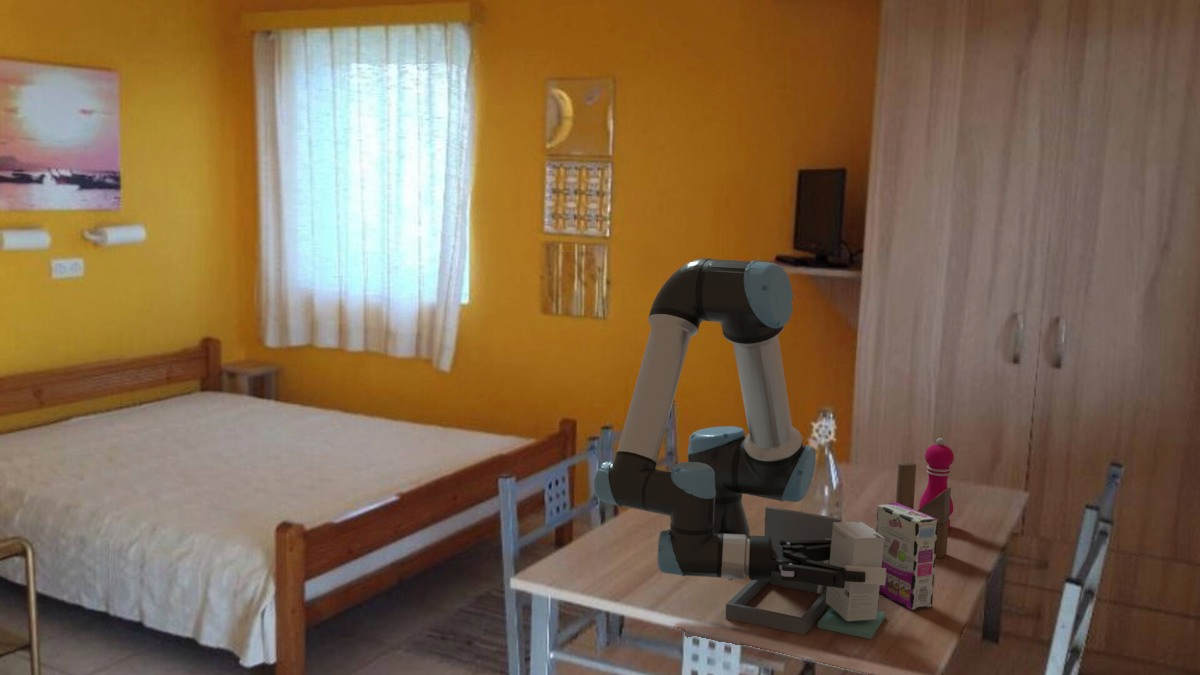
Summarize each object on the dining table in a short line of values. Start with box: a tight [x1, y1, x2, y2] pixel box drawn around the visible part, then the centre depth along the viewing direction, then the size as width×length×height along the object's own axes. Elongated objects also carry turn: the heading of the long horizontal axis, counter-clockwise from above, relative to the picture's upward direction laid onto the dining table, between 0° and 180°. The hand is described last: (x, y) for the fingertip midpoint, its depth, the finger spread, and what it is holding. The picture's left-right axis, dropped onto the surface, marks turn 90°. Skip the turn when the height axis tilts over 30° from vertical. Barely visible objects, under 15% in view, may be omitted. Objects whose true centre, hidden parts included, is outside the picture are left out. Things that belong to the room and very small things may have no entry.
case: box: [725, 506, 842, 636], centre depth 186 cm, size 14×20×14 cm
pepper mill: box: [918, 437, 955, 530], centre depth 231 cm, size 7×7×20 cm
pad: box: [817, 606, 886, 640], centre depth 180 cm, size 9×10×1 cm
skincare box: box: [826, 521, 884, 621], centre depth 179 cm, size 8×6×15 cm
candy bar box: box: [875, 502, 938, 611], centre depth 190 cm, size 11×5×16 cm, turn 24°
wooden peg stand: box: [895, 460, 952, 559], centre depth 216 cm, size 4×11×18 cm, turn 53°
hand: (881, 565), depth 178 cm, fingers closed on skincare box, 9 cm apart
